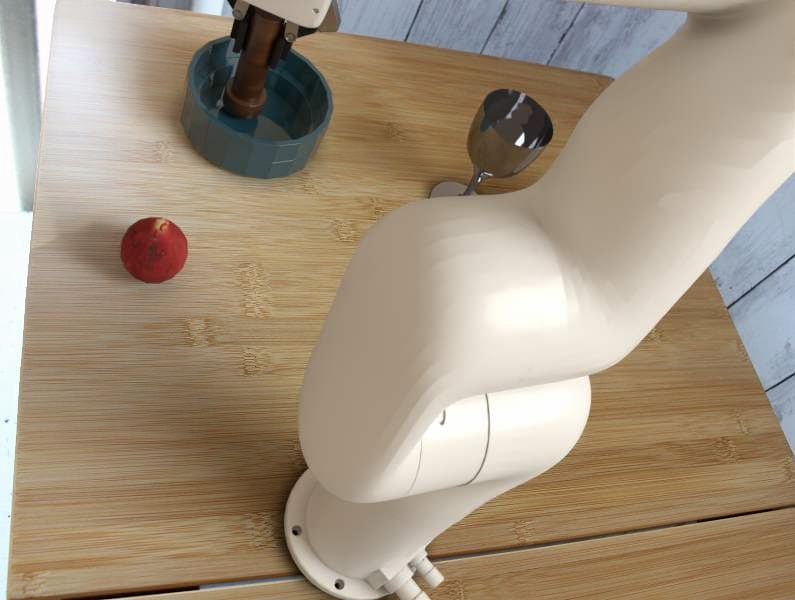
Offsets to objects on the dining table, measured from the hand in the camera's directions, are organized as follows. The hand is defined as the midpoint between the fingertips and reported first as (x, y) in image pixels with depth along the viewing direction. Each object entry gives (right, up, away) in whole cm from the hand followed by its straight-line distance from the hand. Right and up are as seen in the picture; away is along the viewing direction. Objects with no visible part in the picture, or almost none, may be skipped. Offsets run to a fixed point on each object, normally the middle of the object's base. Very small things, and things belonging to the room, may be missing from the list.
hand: (258, 51), depth 84 cm
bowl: (-2, -6, +7) cm, 10 cm away
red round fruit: (-9, -23, -6) cm, 25 cm away
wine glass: (+21, -14, +12) cm, 28 cm away
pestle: (-3, -4, +6) cm, 8 cm away
